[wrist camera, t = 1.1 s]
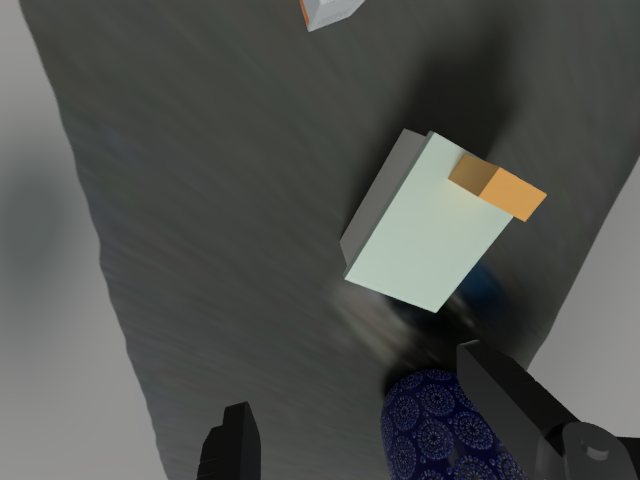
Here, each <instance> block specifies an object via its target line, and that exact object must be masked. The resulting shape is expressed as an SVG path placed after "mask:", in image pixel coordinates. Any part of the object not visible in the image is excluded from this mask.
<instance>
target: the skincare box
mask: <svg viewBox="0 0 640 480" xmlns="http://www.w3.org/2000/svg"><path fill="white" fill-rule="evenodd" d="M364 1H365V0H300V4H301V7H302V11H303V14H304V18H305V21H306V25H307V29H308V31H309V32H310V31H313V30H315V29H318V28H321V27H323V26H326V25H328V24H331V23H334V22H336V21H339V20H342V19H344V18H347V17H349V16H350V15H351V14H352V13H353V12H354V11H355V10H356V9H357V8H358V7H359V6H360V5H361V4H362V3H363V2H364Z"/></svg>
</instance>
